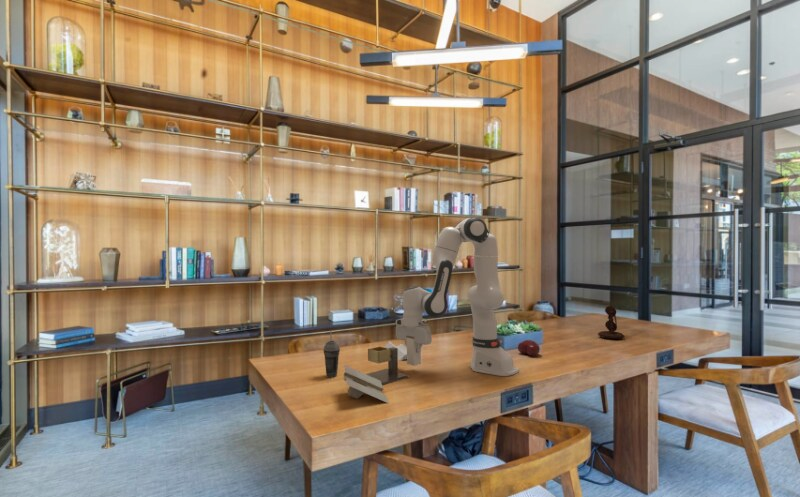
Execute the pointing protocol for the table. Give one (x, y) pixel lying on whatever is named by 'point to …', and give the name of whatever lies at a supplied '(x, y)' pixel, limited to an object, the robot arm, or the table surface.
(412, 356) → the rail end
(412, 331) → the robot arm
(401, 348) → the crown molding
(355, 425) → the table surface
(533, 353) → the heart
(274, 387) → the table surface
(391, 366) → the bracket
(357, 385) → the grey grooved block
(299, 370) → the table surface
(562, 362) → the table surface
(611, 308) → the dark figurine
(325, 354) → the dark travel mug
